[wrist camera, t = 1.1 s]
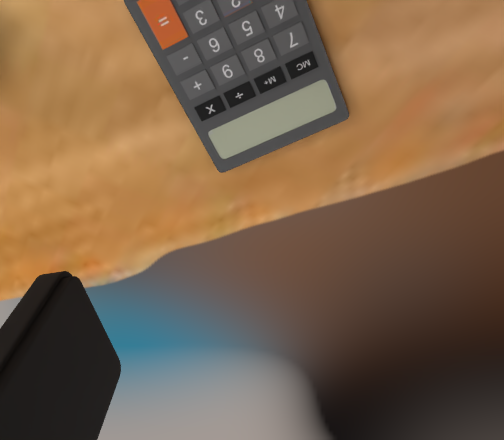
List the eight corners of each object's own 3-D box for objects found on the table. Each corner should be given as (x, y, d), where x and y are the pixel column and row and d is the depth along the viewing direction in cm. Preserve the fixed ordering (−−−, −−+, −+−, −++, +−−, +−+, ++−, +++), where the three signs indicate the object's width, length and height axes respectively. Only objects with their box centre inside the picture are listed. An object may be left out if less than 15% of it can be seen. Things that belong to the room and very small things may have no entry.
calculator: (272, -90, 29) (351, 118, 35) (272, -89, 30) (349, 115, 36) (120, -3, 32) (219, 175, 38) (124, -4, 32) (220, 170, 39)
